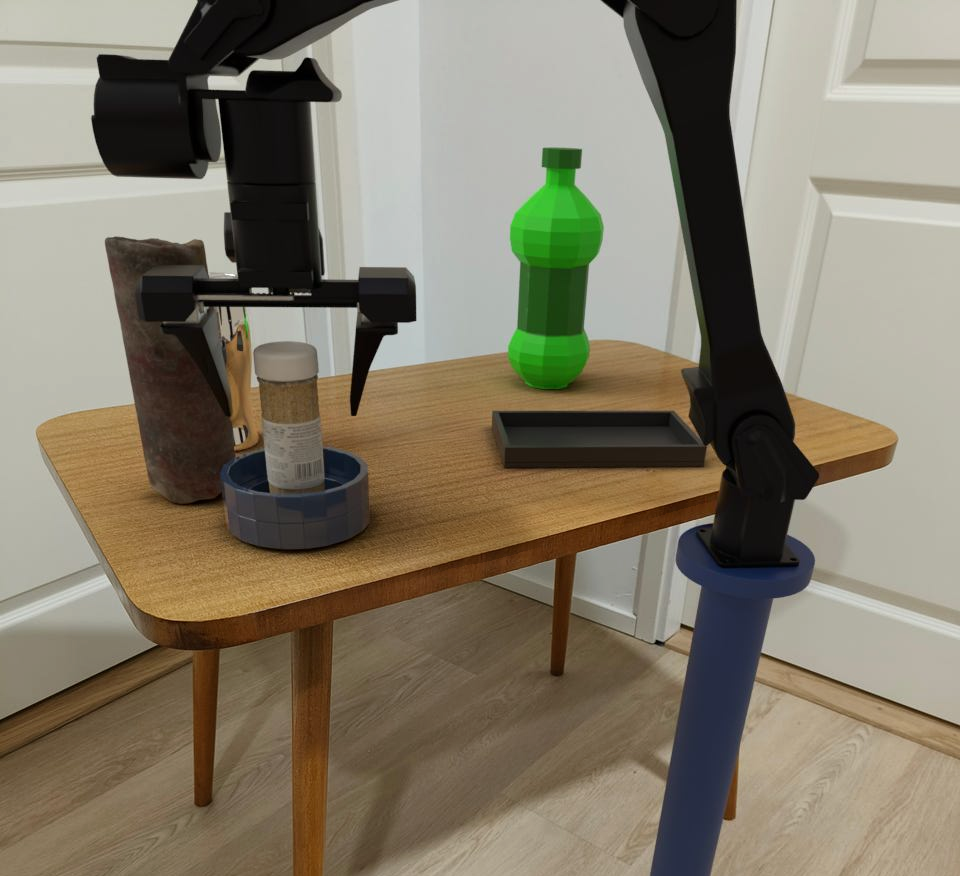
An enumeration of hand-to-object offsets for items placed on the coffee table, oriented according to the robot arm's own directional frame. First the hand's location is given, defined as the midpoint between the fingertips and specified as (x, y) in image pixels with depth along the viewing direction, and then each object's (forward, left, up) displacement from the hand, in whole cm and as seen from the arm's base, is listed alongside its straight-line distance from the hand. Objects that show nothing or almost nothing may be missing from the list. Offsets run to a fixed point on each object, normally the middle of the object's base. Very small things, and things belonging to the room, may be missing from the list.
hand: (292, 414), depth 67 cm
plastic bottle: (+41, -26, -9) cm, 49 cm away
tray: (+18, -27, -9) cm, 34 cm away
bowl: (0, 0, -9) cm, 9 cm away
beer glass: (+20, +9, -9) cm, 23 cm away
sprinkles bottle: (0, 0, -9) cm, 9 cm away
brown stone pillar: (+8, +10, -9) cm, 15 cm away
